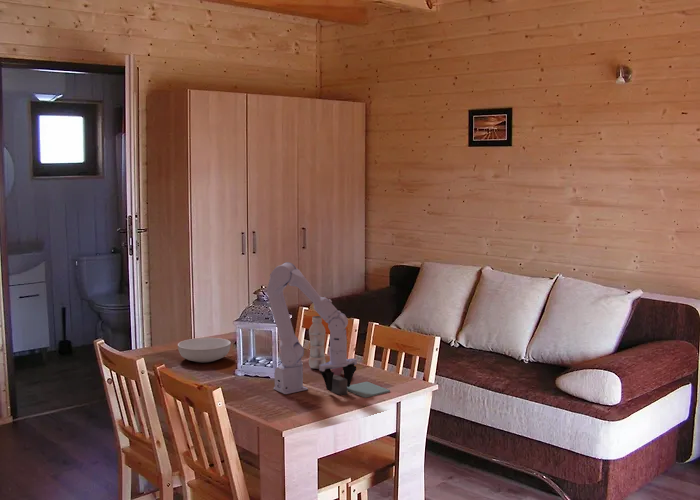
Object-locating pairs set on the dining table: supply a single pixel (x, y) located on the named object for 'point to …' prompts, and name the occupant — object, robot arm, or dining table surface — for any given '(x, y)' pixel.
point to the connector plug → (339, 385)
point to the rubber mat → (367, 389)
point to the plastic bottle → (317, 343)
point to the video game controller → (338, 371)
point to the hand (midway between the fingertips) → (338, 388)
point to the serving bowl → (204, 349)
